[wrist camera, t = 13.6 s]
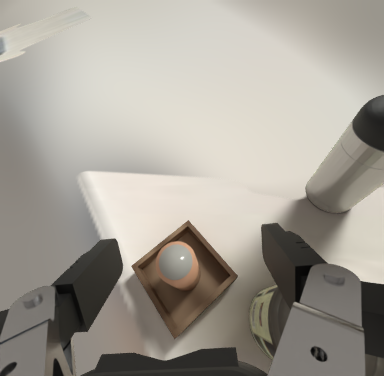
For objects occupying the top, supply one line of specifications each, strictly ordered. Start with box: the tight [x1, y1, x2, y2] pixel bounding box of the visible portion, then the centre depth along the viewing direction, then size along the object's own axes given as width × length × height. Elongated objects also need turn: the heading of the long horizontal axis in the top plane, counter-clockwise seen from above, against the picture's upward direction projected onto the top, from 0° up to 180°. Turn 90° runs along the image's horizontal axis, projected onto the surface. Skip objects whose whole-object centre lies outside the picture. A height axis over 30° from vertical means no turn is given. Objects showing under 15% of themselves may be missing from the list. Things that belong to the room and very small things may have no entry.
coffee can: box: [249, 284, 384, 376], centre depth 24 cm, size 10×10×14 cm
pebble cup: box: [156, 241, 201, 291], centre depth 30 cm, size 6×6×10 cm
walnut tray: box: [132, 220, 237, 339], centre depth 34 cm, size 13×13×4 cm
